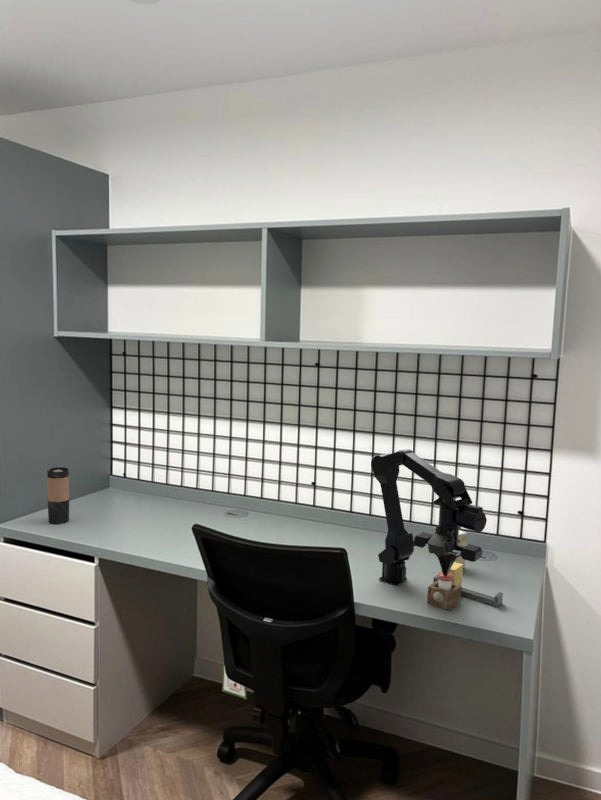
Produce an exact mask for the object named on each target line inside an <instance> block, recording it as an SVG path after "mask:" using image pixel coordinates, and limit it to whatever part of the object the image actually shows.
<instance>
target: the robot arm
mask: <svg viewBox="0 0 601 800" xmlns="http://www.w3.org/2000/svg"><path fill="white" fill-rule="evenodd" d="M370 463H371V464H370V467H371V470H372V473H373V477H374V478H375V479H376V480H377V482H378V483H379V485H380V490H381V495H382V501H383V507H384V512H385V519H386V520H385V521H386V525H387V533H386V537H385V541H384V545H385V548H384V549H383V550H382V551H381V552H380V553H378V554H377V555H378V556H377V557H378V561H379V562H380V563H382V569H381V570H382V571H381V576H380V577H378V579H379V581H382V582H385V583H387V584H391V585H394V586H399V585H400V584H402V583H403V582H405V581H407V579H408V578H407V566H406V561H409V559H410V557H411V556H412V555H413V553H414V551H415V548H414V547H418V548H421V549H423V548H424V547H426V546H427V549H428V553H429V554H434V555H435V556H436V557H437V559H438V562H439V564H440V568H441V572H443V575H445V576H447V575H448V573H449V571H450V569H451V567H452V565H453V563H454V561H455V560H456V558H458V557H459V556H461V557H462V558H463V559H464V560H465V561H469V562H473V563H475V562H476V561H478V560H479V559H481V558H482V557H483V549H482V547H481V546H479V545H474V544H471V543H469V544H466V546H465V547H463V546H459V545H458V543H460V539H458V536H459V530H461V529H462V528H463V529H466V530H469V531H472V532H474V533H477V534H479V533H482V532H483V530H484V529H485V527H486V526H487V521H488V519H487V517H486V516H487V515H486V513H485V512H484V511H483V509H484V508H483V507H482V506H479V505H473V501H472V498H471V497H470V494H469V492H468V490H467V489H466V485H465V482H464V480H463V479H461V478H459V477H458V476H455V475H453V474H450V473H446V472H442V471H440V470H439V469H438V468H436V467H435V466H433V465H432V464H430V463H429V462H427V461H426V460H425V459H423V458H422V457H421V456H418V455H417V454H416V453H414V451H413V450H412V449H409V448H406V449H401V450H400V449H399V450H397V451H395V452H392V453H391V452H389V453H384V454H377V455H375V456H373V458H372V459H371V461H370ZM400 466H404V467H405V468H407V469H408V470H409V471H411V472H412V473H414V474H415V475H416V476H418V478H419V477H420V478H421V479H422V480H423V481H425V482H426V484H427V483H428V484H429V485H430V486H431V489H432V491H433V492H434V493H435V495H437V498H436V499H435V500H434V501H433V502H432V503H433V504H434V505H438V506H439V508H438V509H439V511H438V525H436V527H435V531H434V534H432V533H429V532H425V531H423V532H421V533H419V534H417V535H415V536H414V534H413V532H412V533H411V532H410V533H409V532H408V531H407V530H406V528H405V525H404V519H403V513H402V507H401V500H400V497H399V490H398V484H397V480H398V478H399V475H400ZM455 499H457V500H455Z"/></svg>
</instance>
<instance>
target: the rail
mask: <svg viewBox="0 0 601 800" xmlns="http://www.w3.org/2000/svg"><path fill="white" fill-rule="evenodd" d="M432 579H433V582H432V583H434V582H435V581H437V580H438V579H439V578H438V574H437V575H435V576H434V577H433V578H432ZM461 597H464V598H467V599H470V600H473V601H476V600H477V601H478V602H480V603H483V604H486V605H489V606H493V608H499V607H500V606H501V605H503V597H504V593H503V592H500V591H499V592H498V593H497V594H495V596H492V595H488V594H485V593H482V592H478V591H476V590H475V591H474V590H472V589H469V588H466V587H462V586H461Z"/></svg>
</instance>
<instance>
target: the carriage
mask: <svg viewBox="0 0 601 800" xmlns="http://www.w3.org/2000/svg"><path fill="white" fill-rule="evenodd" d="M463 570H464V569H463V564H460V563H456V562H454V563H453V565H452V567H451V569H450V571H449V573H451V574H452V575H453V580H452V583H454V584H457V585H461V586H462V584H463V572H464V571H463Z"/></svg>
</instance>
